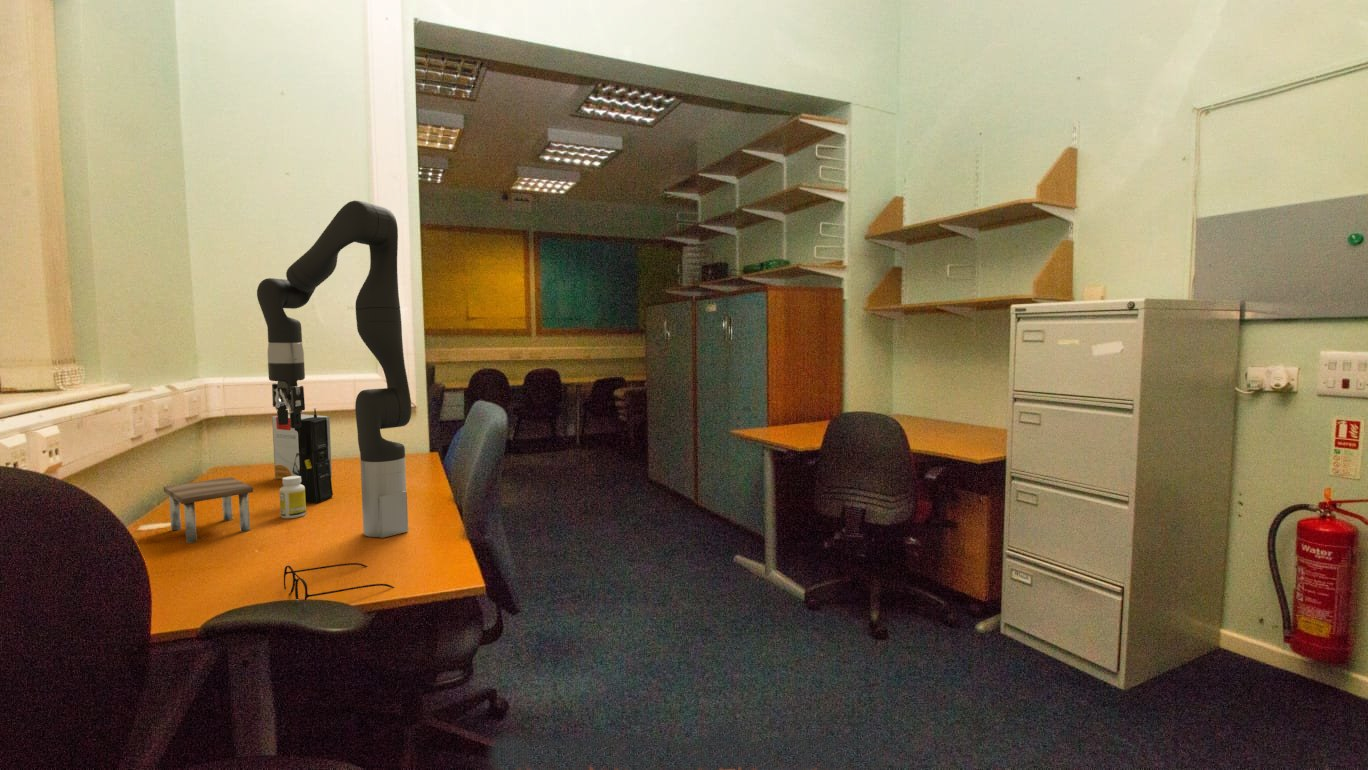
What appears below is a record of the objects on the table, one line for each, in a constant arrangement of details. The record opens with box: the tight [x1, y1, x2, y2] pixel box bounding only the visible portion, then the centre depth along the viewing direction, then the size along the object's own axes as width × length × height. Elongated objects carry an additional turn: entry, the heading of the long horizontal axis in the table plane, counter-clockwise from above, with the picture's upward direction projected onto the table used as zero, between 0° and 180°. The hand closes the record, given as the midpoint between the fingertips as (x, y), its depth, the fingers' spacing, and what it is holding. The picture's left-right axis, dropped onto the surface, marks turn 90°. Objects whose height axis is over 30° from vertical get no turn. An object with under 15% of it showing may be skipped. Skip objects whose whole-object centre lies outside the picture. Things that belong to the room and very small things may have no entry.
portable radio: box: [295, 409, 334, 504], centre depth 167 cm, size 8×6×25 cm
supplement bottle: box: [279, 476, 307, 519], centre depth 154 cm, size 5×5×10 cm
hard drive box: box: [271, 413, 333, 480], centre depth 193 cm, size 16×8×20 cm, turn 73°
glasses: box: [283, 562, 395, 601], centre depth 111 cm, size 14×15×5 cm
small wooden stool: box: [163, 476, 254, 544], centre depth 143 cm, size 16×13×10 cm
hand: (289, 426), depth 153 cm, fingers open, 8 cm apart
